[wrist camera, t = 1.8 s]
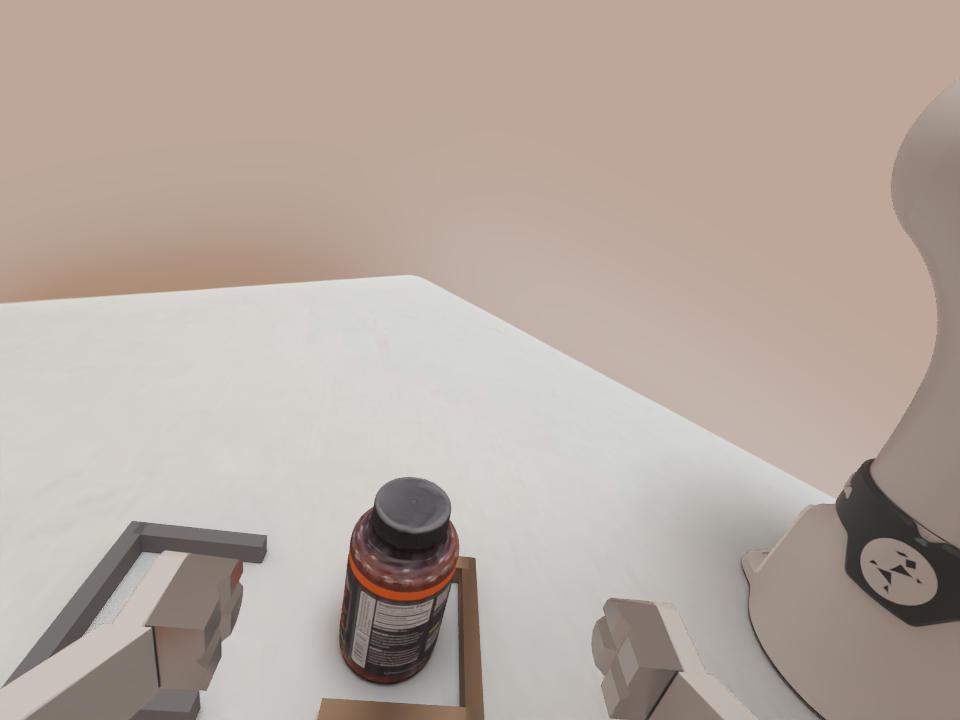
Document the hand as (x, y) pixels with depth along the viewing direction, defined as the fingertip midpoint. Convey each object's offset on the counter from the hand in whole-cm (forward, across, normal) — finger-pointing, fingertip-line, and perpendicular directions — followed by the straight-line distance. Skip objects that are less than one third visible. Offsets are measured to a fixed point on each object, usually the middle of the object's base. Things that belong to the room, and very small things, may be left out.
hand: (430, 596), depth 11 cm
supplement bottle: (+12, 0, +20) cm, 23 cm away
